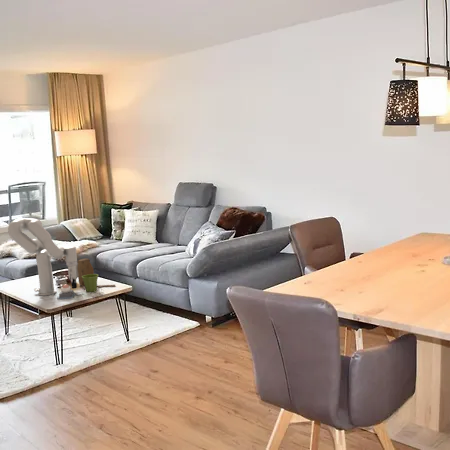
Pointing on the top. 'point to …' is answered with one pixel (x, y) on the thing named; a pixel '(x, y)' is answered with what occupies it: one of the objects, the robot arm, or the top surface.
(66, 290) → the popper dome
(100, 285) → the bracket
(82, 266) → the block
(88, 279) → the plant pot
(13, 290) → the top surface
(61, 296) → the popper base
